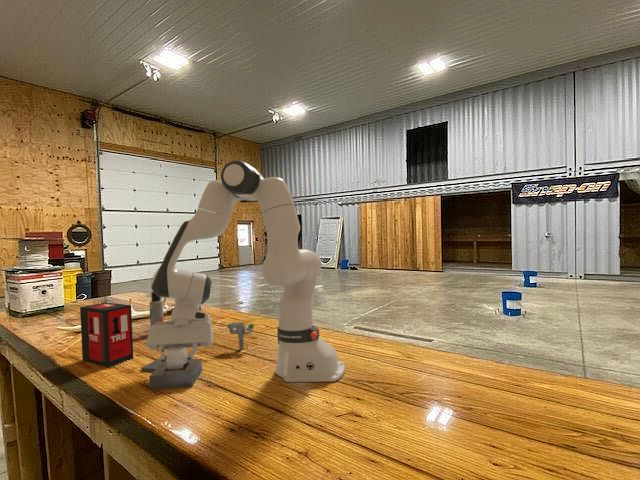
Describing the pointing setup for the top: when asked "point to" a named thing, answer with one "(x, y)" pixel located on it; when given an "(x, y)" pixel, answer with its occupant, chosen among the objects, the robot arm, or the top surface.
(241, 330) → the mechanical component
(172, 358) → the aluminium plug
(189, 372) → the square socket
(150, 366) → the rubber mat
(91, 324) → the cleaning product box
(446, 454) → the top surface
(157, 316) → the lotion bottle
